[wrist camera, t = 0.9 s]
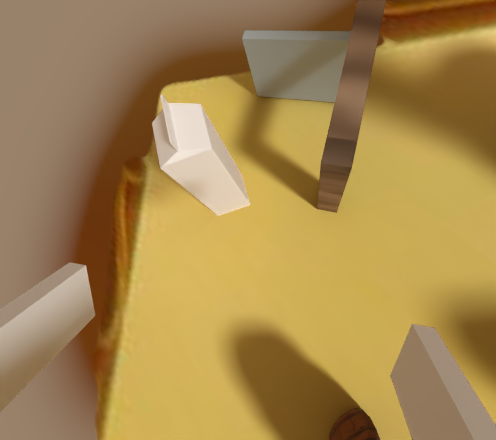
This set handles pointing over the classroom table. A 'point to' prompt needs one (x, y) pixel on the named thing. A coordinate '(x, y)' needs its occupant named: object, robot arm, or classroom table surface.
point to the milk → (198, 157)
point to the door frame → (349, 104)
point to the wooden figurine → (354, 427)
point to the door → (296, 63)
